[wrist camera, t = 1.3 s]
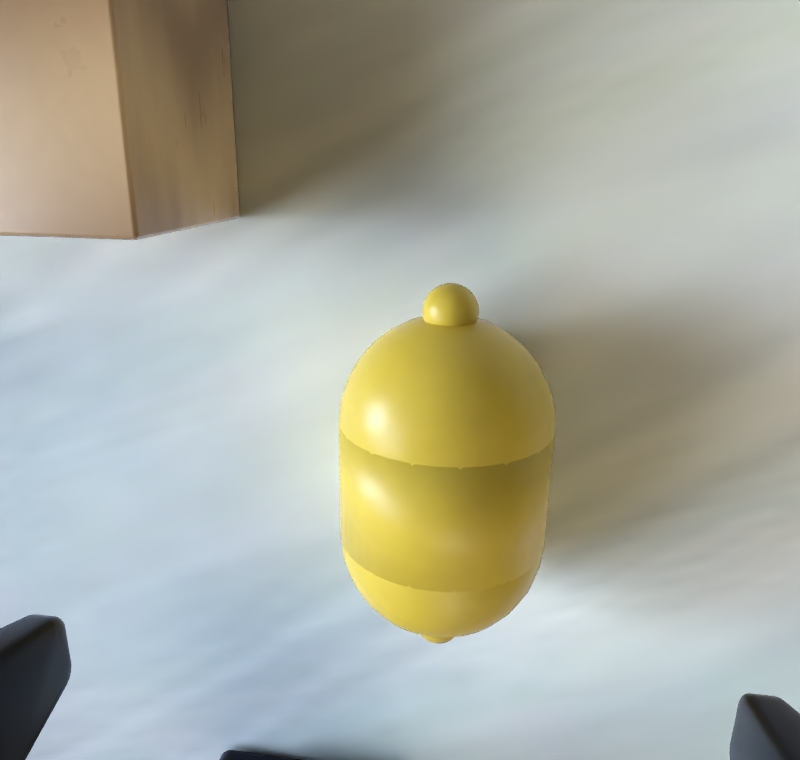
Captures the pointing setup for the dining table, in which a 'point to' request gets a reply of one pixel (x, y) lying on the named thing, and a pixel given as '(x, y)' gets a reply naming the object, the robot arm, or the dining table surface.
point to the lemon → (445, 470)
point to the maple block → (115, 118)
